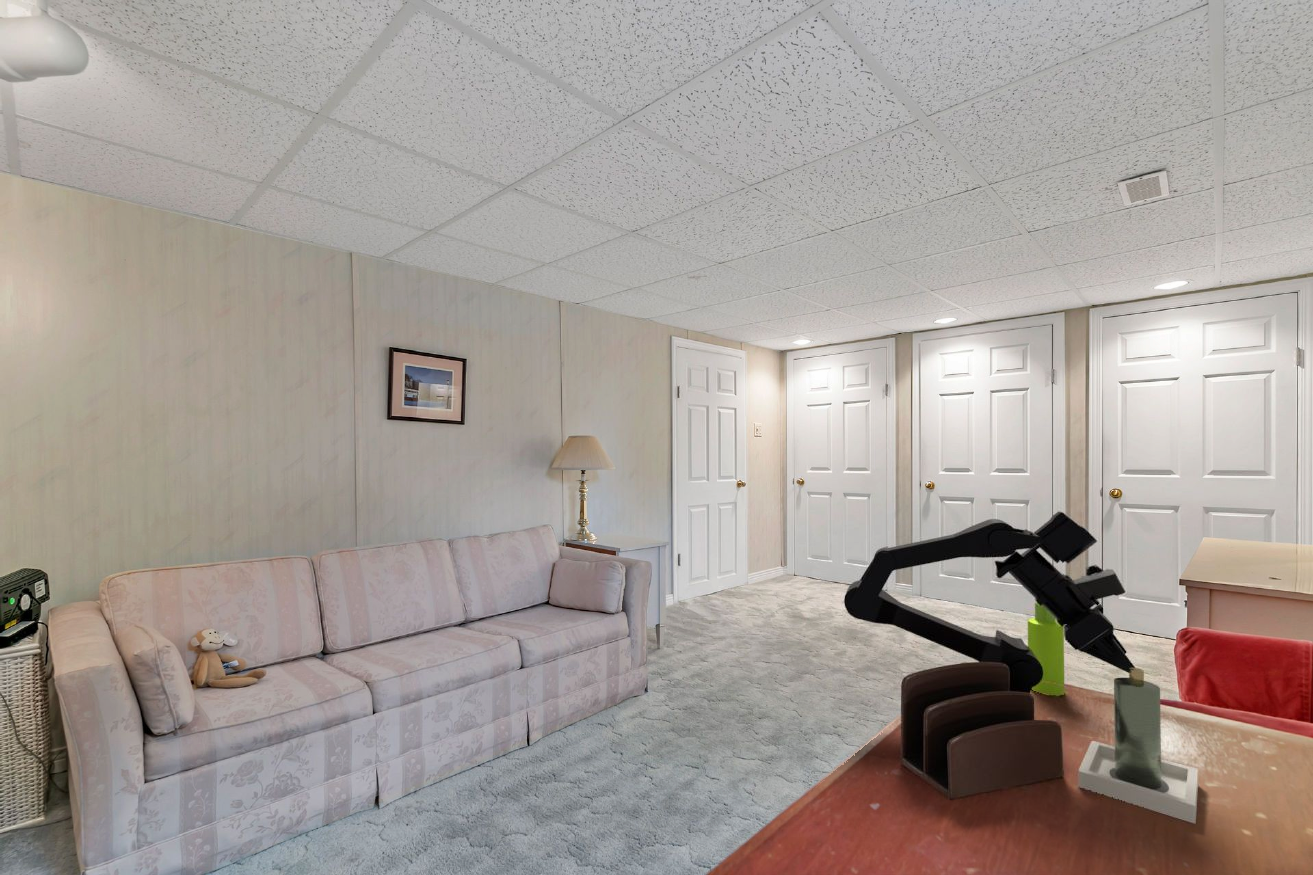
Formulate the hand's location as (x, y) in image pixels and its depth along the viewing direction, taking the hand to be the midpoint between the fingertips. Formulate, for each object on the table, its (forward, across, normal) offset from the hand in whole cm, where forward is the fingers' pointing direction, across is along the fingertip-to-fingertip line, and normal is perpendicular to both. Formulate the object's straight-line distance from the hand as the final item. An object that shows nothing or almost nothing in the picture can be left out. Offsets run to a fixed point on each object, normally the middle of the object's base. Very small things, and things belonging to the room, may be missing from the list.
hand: (1128, 662), depth 94 cm
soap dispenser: (+3, +22, +16) cm, 27 cm away
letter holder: (-4, -19, +24) cm, 30 cm away
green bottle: (+8, -12, +9) cm, 17 cm away
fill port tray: (+9, -12, +10) cm, 18 cm away
